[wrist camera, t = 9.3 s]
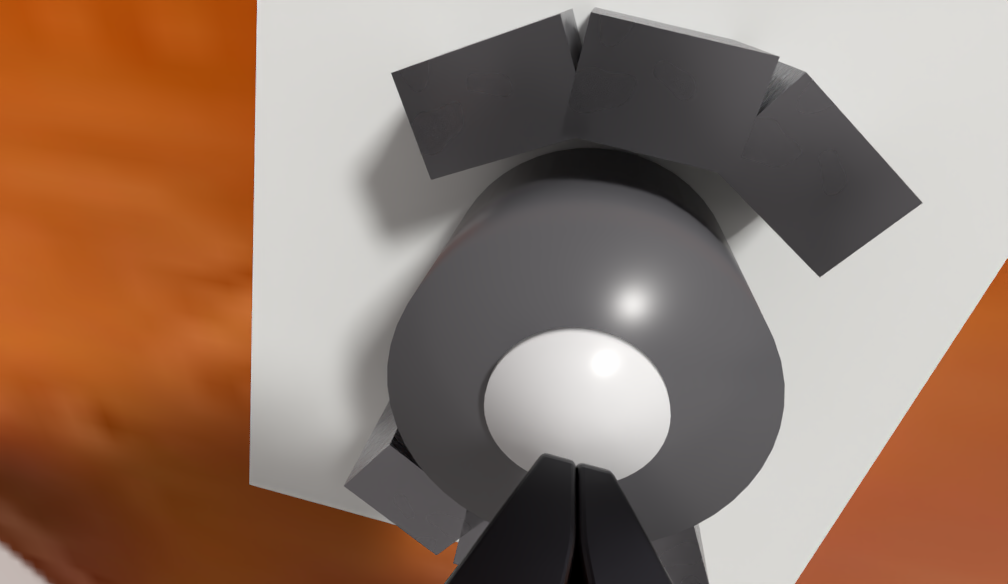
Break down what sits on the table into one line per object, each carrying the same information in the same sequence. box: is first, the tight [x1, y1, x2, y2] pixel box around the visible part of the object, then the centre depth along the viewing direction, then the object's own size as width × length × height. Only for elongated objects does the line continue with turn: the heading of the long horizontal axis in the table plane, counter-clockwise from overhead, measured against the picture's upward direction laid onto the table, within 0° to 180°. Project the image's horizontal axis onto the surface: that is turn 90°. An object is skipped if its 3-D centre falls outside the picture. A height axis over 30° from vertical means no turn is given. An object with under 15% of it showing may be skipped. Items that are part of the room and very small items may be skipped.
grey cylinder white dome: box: [387, 148, 785, 541], centre depth 10 cm, size 6×6×4 cm
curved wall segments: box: [344, 7, 922, 584], centre depth 11 cm, size 10×7×3 cm
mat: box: [249, 0, 1008, 584], centre depth 12 cm, size 16×14×1 cm
